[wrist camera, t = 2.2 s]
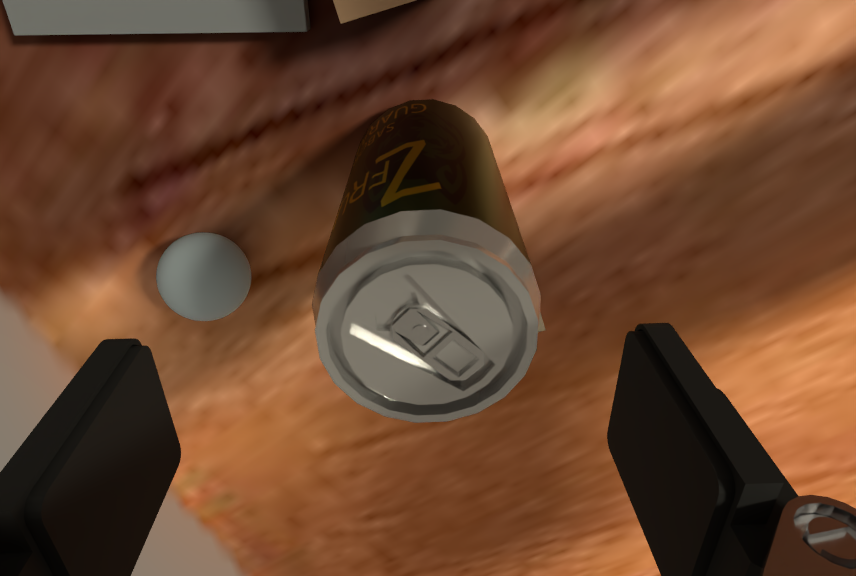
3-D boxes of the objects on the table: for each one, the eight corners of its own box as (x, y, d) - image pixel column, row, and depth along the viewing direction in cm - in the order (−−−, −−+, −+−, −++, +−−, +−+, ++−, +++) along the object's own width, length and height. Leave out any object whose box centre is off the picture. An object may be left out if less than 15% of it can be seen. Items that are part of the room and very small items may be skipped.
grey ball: (253, 217, 24) (228, 257, 21) (266, 291, 26) (245, 338, 23) (166, 218, 24) (129, 258, 21) (185, 292, 26) (154, 339, 23)
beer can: (520, 159, 23) (600, 332, 13) (429, 249, 25) (434, 462, 15) (420, 63, 21) (417, 174, 11) (330, 168, 23) (255, 347, 13)
